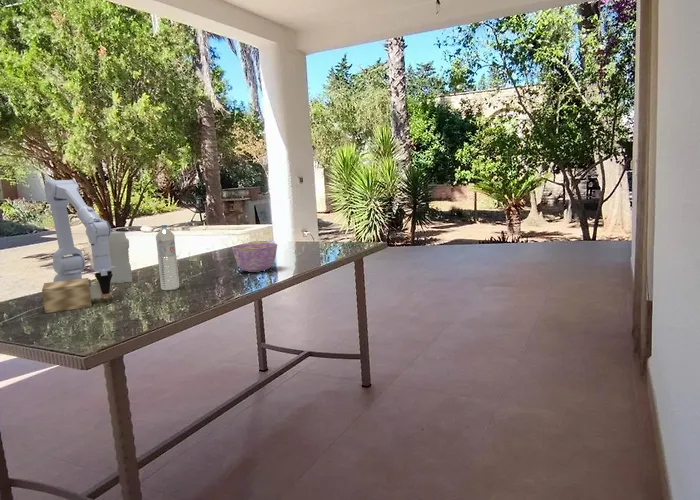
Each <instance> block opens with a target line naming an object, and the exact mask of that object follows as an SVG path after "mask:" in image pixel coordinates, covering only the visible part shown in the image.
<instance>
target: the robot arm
mask: <svg viewBox="0 0 700 500" xmlns="http://www.w3.org/2000/svg"><path fill="white" fill-rule="evenodd" d="M43 190H44V195H45V199H46V203H47V204H49V205H50V209H51V210H50V211H51V215H52V221H53V225H54V230H55V234H56V240H57V246H58V249H57V250H56V251H55V252H54V253H53V254H52V268H53V271H54V272H55V273H56V274H55V275H54V278H53V281H52V282H58V281H67V280H75V279H83V278H82V277H83V275H82V273H83V272H84V269H85V267H86V260H85V257H84V255H83V252H82V250H81V249H79V248H77V247H76V246H75V244H74V240H73V239H74V238H73V233H72V228H71V223H70V219H69V214H68V209H67V208H68V207H67V206H68V204H71V205H72V207H74V209H75V210H76V212H77V213H76V215H77V218H78V219H79V220H80V222H81V223H82V225H83V226H84V227H85V234H86V236H87V239H88V242H89V244H90V246H91V247H90V248H91V255H92V264H93V270H92V271H94V272H96V273H94V277H95V279H96V280H97V282H98V283H99V284H100V287H101V291H102V293H103V294H109V292H110V293H111V283H110V282H111V278H112V276H113V274H111V273H112V271H109V270H111V269H114V268H115V266H111V258H110V249H109V241H108V236H110V234H111V232H112V227H111V225H110V223H109V221H107V220H104V219H103V218H102V219H101V217H100V216H99V215H98V214H97V212H96V211H95V210H94V207H92V206H87V204H86V202H85V200H84V199H83V196H81V194H80V186H79V184H78V183H77V181H76V180H75V179H58V180H57V179H55V180H52V179H48V180H47V181H46V182H45V184H44V187H43Z"/></svg>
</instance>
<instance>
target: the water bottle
mask: <svg viewBox="0 0 700 500" xmlns="http://www.w3.org/2000/svg"><path fill="white" fill-rule="evenodd" d="M167 227H168V226H167V224H163V225H162V224H161V229H160V230H159V231H158V232H157V233H156V235H155V241H156V249H157V261H158V272H159V279H160V281H159V282H160V289H161V291H174V290H178V289H180V277H179V270H178V259H177V258H178V257H177V251H176V241H175V239H176V238H175V234H174V233H173V232H172V231H171V230H169V229H168V228H167Z"/></svg>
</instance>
